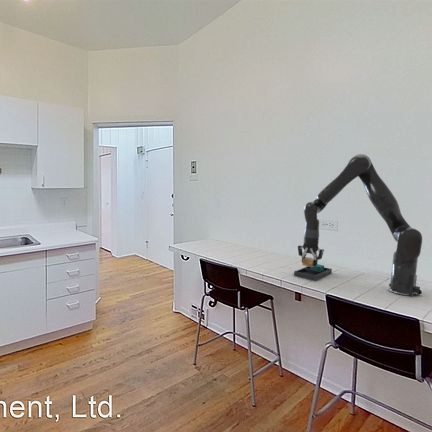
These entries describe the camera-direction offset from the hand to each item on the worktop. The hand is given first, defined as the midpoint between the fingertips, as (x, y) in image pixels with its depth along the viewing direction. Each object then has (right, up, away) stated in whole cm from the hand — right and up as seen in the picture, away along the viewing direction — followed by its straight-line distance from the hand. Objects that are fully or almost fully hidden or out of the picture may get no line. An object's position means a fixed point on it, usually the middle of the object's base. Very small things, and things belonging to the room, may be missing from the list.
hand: (309, 264), depth 175 cm
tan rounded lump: (0, 0, 0) cm, 0 cm away
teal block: (+9, -5, +7) cm, 13 cm away
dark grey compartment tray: (+4, -7, +4) cm, 9 cm away
